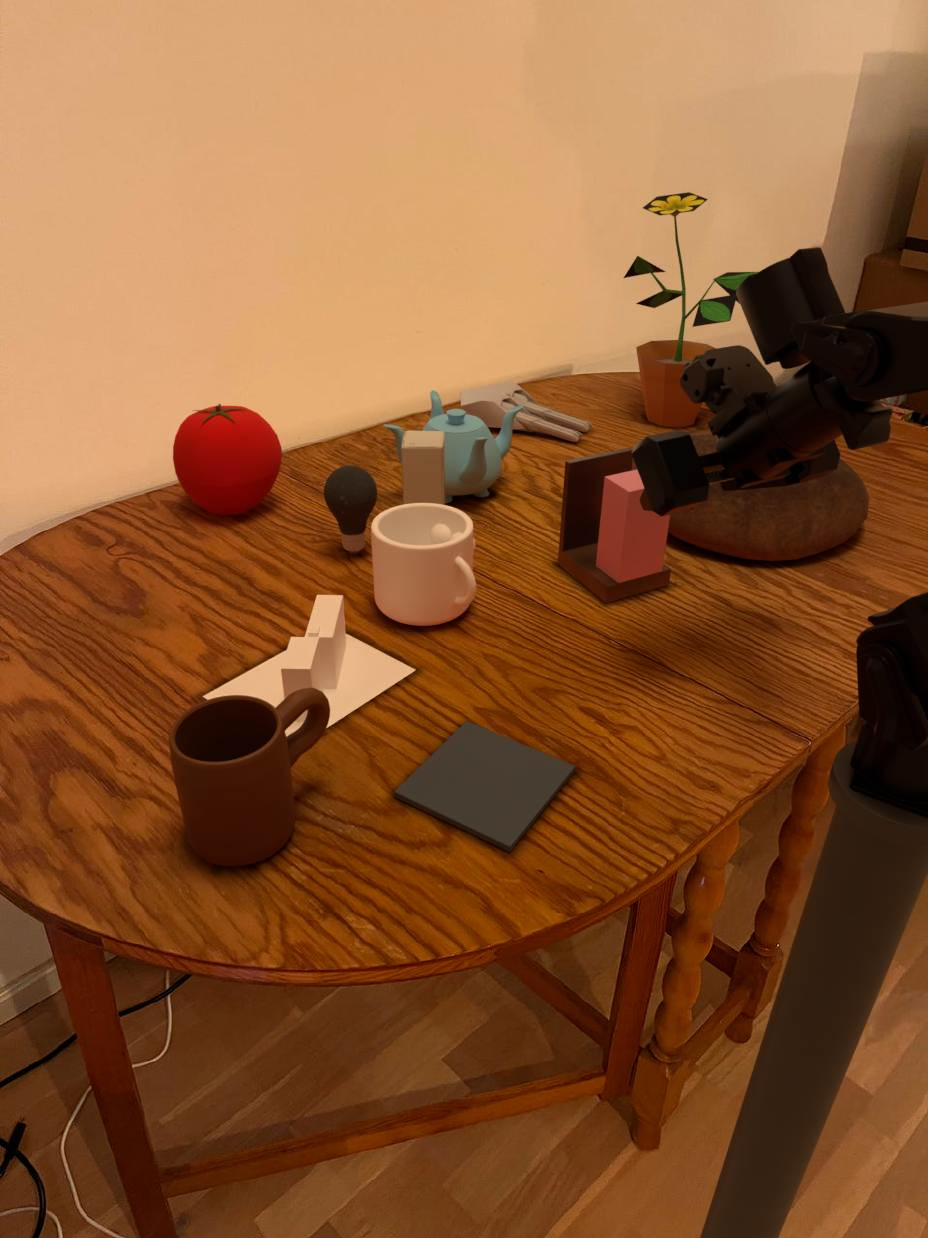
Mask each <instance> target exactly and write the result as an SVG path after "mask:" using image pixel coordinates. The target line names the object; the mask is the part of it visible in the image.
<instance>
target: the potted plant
mask: <svg viewBox="0 0 928 1238" xmlns="http://www.w3.org/2000/svg"><path fill="white" fill-rule="evenodd" d="M708 200H709V199H708V198H706V197H703V196H700V195H698V194H695V193H692V192H690V191H689V192H680V193H674V194H673V193H672V194H667V195H660V196H656V197H654V198H653V199H652V200H650V201H649V202H648V203H646V204H645V205H644V206H642V210H643V209H644V210H646V211H647V212H650V213H653V214H655V215H658V216H667V215H670V216H671V217H673V221H674V235H675V236H674V237H675V238H674V239H675V246H676V253H677V257H678V264H679V271H680V273H679V274H680V281H681V290H678V289H677V290H676V289H667V287H666V286H665V285H664V284H663V283H662V282H661V280H660V279H659V278H658V277H657V276H656V275H655V274H656V273H666V271H665V270H664V269H662V268H660V267H659V266H657V265H655V264H653V263H652V262H650V261H648V260H646V259H644V258H643V257H641V256H639V255H636V257H635V259H634V260H633V262H632V264H631V265H630V267H629V268H628V270H627V271H626V273H625V274H624V276H623V279H626V278H631V277H638V276H643V275H647V274H648V275H649V274H650V275H651V276H652V278H653V279H654V280H655V282H656V283H657V285H658V286H659V288H661V291H659V292H657V293H655V294H653V295H651V296H648V297H647V298H644V299H642V300H640V301H638V302H635V304H636V305H639V306H643V307H648V308H652V309H656V308H658V307H661V306H663V305H664V304H668V303H670V302H671V301H673V300H675V299H678V298H681V320H680V325H679V326H680V327H679V333H678V338H677V339H666V340H665V339H664V340H663V339H662V340H650V341H648V342H647V341H646V342H645V343H642V344H640V345H638V346H636V347H635V349H636V355H637V362H638V369H639V370H638V371H639V376H640V383H641V384H640V385H641V390H642V391H641V392H642V397H643V403H644V404H643V405H644V411H645V417H646V418H647V421H648V422H649V423H652V424H653V425H654V424H655V425H658V426H659V427H666V428H684V427H689V426H693V425H694V424H695V421H696V419H697V417H698V414H699V412H700V409H701V407H702V405H703V403H698V404H694V403H693V402H692V401H691V399H690V398H689V397H688V395H687V394H686V393H685V391H684V390H683V389H682V387H681V386H680V378H681V376H682V374H683V372H684V367H685V364H686V363H691V362H692V361H693V360H694V358H695V357H696V355H703V354H704V353H705V351H707V350H710V349H717V348H716V347H714V346H712V345H710V344H708V343H702V342H697V341H689V340H684V337H685V325H686V320H687V319H688V317H689V316H691V314H692V313H693V312H694V311H695V309H696V308H697V309H696V313H695V317H694V320H693V323H692V328H695V327H700V326H708V325H713V324H720V323H727V322H731V320H732V317H733V312H734V309H735V305H736V302H737V303H738V304H739V305H740V302H739V300H738V298H737V295H736V291H737V289H738V287H739V285H740V284H741V283H742V282H743V281H744V280H745V279H746V278H747V277H748V276H750V275H752V274H757V273H758V272H759V271H727V272H725V273H723V274H721V275H719V276H717V277H715V278H712V280H713V281H712V283H711V284H710V286H709V287H708V289H706V291H705V292H704V293H703V295H702V297H701V298H700V299H699V301H698V302H697V303H696V304H695V305H694V306H693V307H692V308H691V309H690V310H689V311H688V312H687V311H686V310H687V309H686V307H687V306H686V304H687V303H686V299H687V298H686V295H687V294H686V293H687V292H686V290H687V289H686V281H685V273H684V266H683V260H682V254H681V249H680V242H679V233H678V224H677V216H679V214H683V213H689V212H690V213H691V212H695V211H696V210H697V209H698V208H700V207H701V206H702V205H703V204H704V203H705V202H707V201H708ZM654 273H655V274H654ZM715 283H716V284H717V285H718V286H719V287H720V288H722V289H723V291H725V292H726V293H727V294H728V295H724V296H717V297H712V298H706V299H704V298H705V297H706V296H707V294H708V293H709V291H710V290H711V288H712V286H713V285H714V284H715ZM686 312H687V313H686Z"/></svg>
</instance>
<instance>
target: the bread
mask: <svg viewBox="0 0 928 1238" xmlns="http://www.w3.org/2000/svg"><path fill="white" fill-rule="evenodd" d="M684 432H685V433H687V434H689V435H690V436H691V439H692V441H693V444H694V446H695V449H696V451H697V454H698V456H702V455H706V454H711V453H716V452H717V450H716V441H717V440H718V436H717V435H714V436H713V435H712V434H711V431H710V429H701V430H690V431H684ZM723 469H724V468H722V470H723ZM633 470H637V467H636V465H635V462H634V459H633V462H632V471H633ZM717 470H718V471H719V470H720V469H717ZM713 471H716V470H713ZM709 472H712V471H709ZM705 473H706V472H705ZM707 473H708V472H707ZM869 503H870V496H869V493H868V490H867V487H866V486H865V482H864V480H863V479H862V478H861V477H860V476H859V474H858V472H856V471H855V470H854V469H853V468H852V467H851V466H850V465H849V464H848V463H846V462H845V460H843V459H842V458H840V459H839V463H838V467H837V469H836V470H834V471H832V472H830V473H829V474H827V475H825V476H823V477H820V478H816V479H812V480H808V481H806V482H802V483H798V484H794V485H789V486H783V487H772V488H759V489H747V490H735V491H723V490H722V487H721V485H720V483H716V484H712V485H710V487H709V493H708V499H707V501H705V502H704V503H702V504H701V505H699V506H696V507H694V509H692V510H688V511H684V512H680V513H676V514H672V515H670V520H669V527H668V533H669V534H670V535H672V536H673V537H675V538H677V539H678V540H680V541H683V542H686V543H688V544H690V545H693V546H696V547H698V548H701V549H704V550H707V551H711V552H715V553H717V554H721V555H726V556H729V557H735V558H739V559H744V560H751V561H752V560H754V561H763V562H764V561H765V562H781V561H793V560H799V559H803V558H807V557H810V556H814V555H817V554H820V553H822V552H824V551H825V552H826V551H828V550H830V549H832V548H834V547H837V546H839V545H841V544H844V543H846V541H848V540H849V539H851V538H852V537H853V536H854V535H855V534H856V533H857V532H858V530H859V529H860V528H861V526H862V525H863V524H864V522H865V521H866V520H867V518H868V513H869ZM668 533H667V534H668Z"/></svg>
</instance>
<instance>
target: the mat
mask: <svg viewBox="0 0 928 1238" xmlns="http://www.w3.org/2000/svg"><path fill="white" fill-rule="evenodd" d="M575 772H576V765H574V764H572V763H569V762H566V761H565V760H562V759H559V758H558V757H556V756H552V755H550V754H547V753H545V752H543V751H540V750H538V749H536V748H533V747H530V746H529V745H526V744H524V743H521V742H518V741H517V740H514V739H511V738H509V737H507V736H505V735H501V734H499V733H497V732H494V731H492V730H490V729H487V728H484V727H482V726H480V725H477V724H475V723H473V722H470V721H468V720H466V721H464V722H463V724H462V725H461V726H460V727H459V728H458V729H457V730H455V732H454V733H452V735H450V736H449V737H448V738H447V739H446V740H445V741H444V742H443V743H442V744H441V745H440V746H439V747H438V748H437V749H436V750H435V751H434V752H433V753H432V754H430V756H429V757H428V758H427V759H426V760H424V762H423V763H422V764H421V765H420V766H419V767H418V768H417V769H416V770H415V771H413V773H412V774H410V776H408V778H406V780H405V781H404V782H402V783H401V785H399V786H398V787H397V788H396V789H395V790H394V791H393V793H394V794H393V795H394V796H393V797H394V798H396V799H398V800H400V801H402V802H404V803H405V804H408V805H410V806H412V807H414V808H416V809H419V810H421V811H423V812H425V813H427V814H429V815H431V816H433V817H435V818H437V819H439V820H441V821H443V822H445V823H448V824H450V825H452V826H454V827H455V828H458V829H460V830H462V831H464V832H466V833H469V834H470V835H473V836H474V837H476V838H479V839H481V840H483V841H485V842H487V843H489V844H491V845H494V846H495V847H497V848H499V849H502V850H504V851H506V852H508V853H511V852H512V851H513V849H514V848H515V847H516V846H517V844H518V843H519V842H520V841H521V840H522V838H523V837H524V836H525V835H526V833H527V832H528V831H529V829H530V828H531V827H532V826H533V825H534V823H535V822H536V821H537V820H538V818H539V817H540V816H541V814H543V812H544V811H545V809H546V808H547V807H548V806H549V805H550V803H551V802H552V801H553V799H554V798H555V797H556V796H557V794H558V793H559V792H560V791H561V790H562V788H563V787H564V786H565V784H566V783H567V782H568V781H569V779H570V778H571V777H572V776H573V774H574V773H575Z"/></svg>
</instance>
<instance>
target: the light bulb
mask: <svg viewBox="0 0 928 1238" xmlns="http://www.w3.org/2000/svg"><path fill="white" fill-rule="evenodd" d="M377 487H378V486H377V484H376V480H375V479H374V478H373V476H372V475H371V474H370V472H368V471H367V470H366V469H365V468H363V467H361V466H358V465H353V464H348V465H347V464H346V465H342V466H340V467H337V468H336V469H334V470H333V471H332V472H331V473H330V474H329V476H328V477H327V478H326V481H325V483H324V487H323V496H324V501H325V504H326V506H327V509H328V510H329V511H330V513H331V514H332V515H333V517H334V519H335V520H336V522H337V524H338V529H339V531H340V533H341V534H340V535H341V545H342V548H343V549H344V550H345V551H347V552H349V553H350V554H353V555H355V554H358V553H359V552H360V551H361V550H362V549H364V548H365V546H366V545H365V544H366V534H365V532H366V529H367V522H368V520H369V517H370V515H371V513H372V512H373V509H374V508H375V507H376V504H377V499H378V488H377Z"/></svg>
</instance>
